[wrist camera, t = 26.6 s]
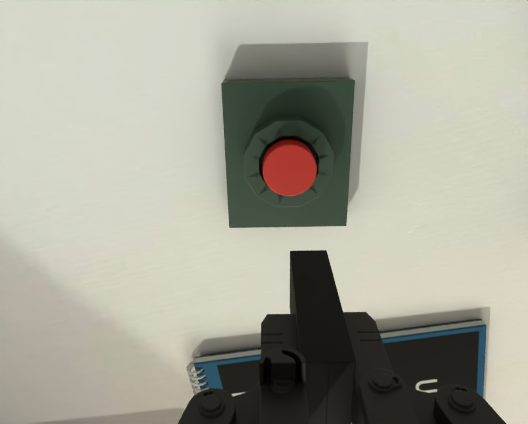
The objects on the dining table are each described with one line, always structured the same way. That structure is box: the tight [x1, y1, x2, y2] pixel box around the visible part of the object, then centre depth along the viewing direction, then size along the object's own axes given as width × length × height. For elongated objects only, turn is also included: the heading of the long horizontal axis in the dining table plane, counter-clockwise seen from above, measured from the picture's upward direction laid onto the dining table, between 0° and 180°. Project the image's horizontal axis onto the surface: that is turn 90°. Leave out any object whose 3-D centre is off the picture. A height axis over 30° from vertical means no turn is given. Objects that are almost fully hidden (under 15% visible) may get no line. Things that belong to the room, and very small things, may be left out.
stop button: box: [263, 139, 317, 196], centre depth 33 cm, size 4×4×2 cm
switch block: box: [221, 77, 355, 228], centre depth 36 cm, size 12×10×4 cm
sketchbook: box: [187, 319, 486, 424], centre depth 48 cm, size 22×30×2 cm
